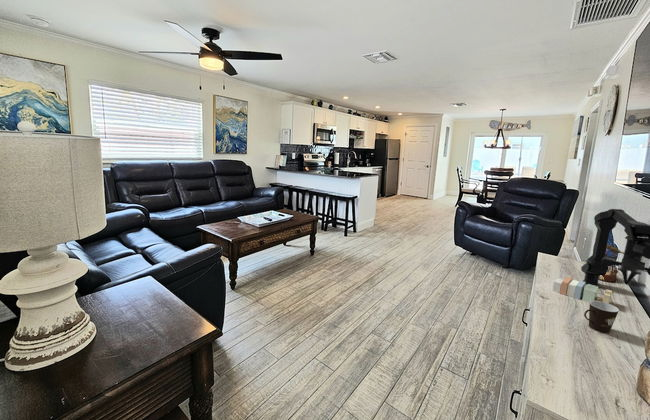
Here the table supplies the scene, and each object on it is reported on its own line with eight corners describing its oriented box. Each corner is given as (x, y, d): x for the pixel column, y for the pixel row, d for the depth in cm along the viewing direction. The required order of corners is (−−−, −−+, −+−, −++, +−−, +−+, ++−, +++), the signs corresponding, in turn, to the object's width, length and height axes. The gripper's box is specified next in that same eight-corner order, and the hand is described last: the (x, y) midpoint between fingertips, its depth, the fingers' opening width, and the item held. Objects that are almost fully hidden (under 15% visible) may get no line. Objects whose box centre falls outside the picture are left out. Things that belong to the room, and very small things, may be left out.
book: (585, 294, 149) (587, 283, 148) (595, 297, 146) (598, 286, 145) (582, 300, 143) (584, 289, 142) (593, 303, 140) (595, 292, 139)
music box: (619, 278, 169) (626, 246, 164) (618, 286, 162) (626, 252, 156) (584, 270, 180) (590, 239, 174) (581, 277, 172) (588, 245, 167)
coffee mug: (606, 324, 123) (611, 302, 121) (618, 336, 115) (624, 313, 113) (572, 319, 127) (576, 298, 125) (582, 330, 119) (586, 308, 117)
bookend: (597, 298, 145) (599, 287, 144) (609, 302, 142) (612, 290, 141) (594, 304, 140) (597, 292, 139) (607, 308, 137) (610, 296, 136)
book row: (556, 286, 158) (558, 274, 157) (583, 293, 150) (585, 282, 149) (551, 291, 152) (554, 279, 151) (579, 299, 144) (581, 287, 143)
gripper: (602, 249, 133) (595, 281, 136) (664, 261, 119) (655, 297, 122) (606, 244, 140) (599, 275, 143) (665, 255, 126) (657, 289, 129)
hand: (626, 284), depth 134 cm, fingers closed
